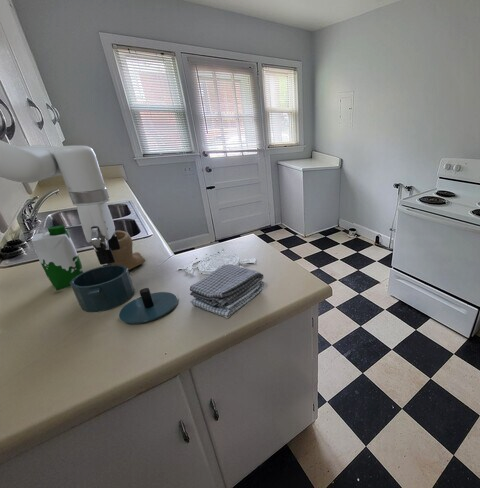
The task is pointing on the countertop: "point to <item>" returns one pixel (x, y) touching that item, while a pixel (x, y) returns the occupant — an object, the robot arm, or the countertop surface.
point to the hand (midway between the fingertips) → (111, 256)
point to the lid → (148, 307)
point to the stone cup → (126, 252)
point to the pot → (103, 288)
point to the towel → (226, 289)
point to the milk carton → (57, 256)
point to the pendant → (218, 262)
